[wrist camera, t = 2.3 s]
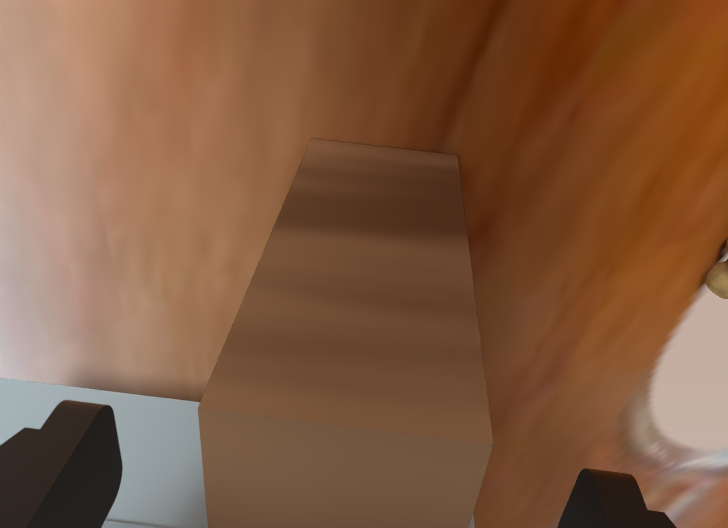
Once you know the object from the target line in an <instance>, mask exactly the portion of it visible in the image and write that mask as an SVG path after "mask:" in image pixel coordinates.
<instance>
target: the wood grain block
mask: <svg viewBox="0 0 728 528" xmlns="http://www.w3.org/2000/svg"><path fill="white" fill-rule="evenodd" d="M198 418H199V429H200V441H201V453H202V464H203V476H204V488H205V499H206V511H207V523H208V528H469V526H470V522H471V519H472V515H473V512H474V509H475V505H476V502H477V499H478V495H479V492H480V489H481V485H482V482H483V479H484V475H485V472H486V469H487V465H488V462H489V459H490V455H491V452H492V448H493V445H494V442H493V434H492V426H491V418H490V410H489V402H488V394H487V387H486V379H485V371H484V363H483V355H482V347H481V339H480V331H479V323H478V315H477V307H476V299H475V291H474V283H473V275H472V267H471V259H470V251H469V243H468V235H467V227H466V219H465V211H464V204H463V196H462V188H461V180H460V172H459V164H458V156H457V155H454V154H445V153H436V152H427V151H418V150H409V149H401V148H392V147H383V146H374V145H365V144H356V143H348V142H339V141H330V140H321V139H312V138H311V140H310V142H309V145H308V147H307V149H306V152H305V154H304V156H303V159H302V161H301V164H300V166H299V168H298V171H297V173H296V175H295V178H294V180H293V183H292V185H291V187H290V190H289V192H288V194H287V197H286V199H285V202H284V204H283V206H282V209H281V211H280V213H279V216H278V218H277V221H276V223H275V225H274V228H273V230H272V232H271V235H270V237H269V240H268V242H267V244H266V247H265V249H264V251H263V254H262V256H261V259H260V261H259V263H258V266H257V268H256V270H255V273H254V275H253V278H252V280H251V282H250V285H249V287H248V290H247V292H246V294H245V297H244V299H243V301H242V304H241V306H240V309H239V311H238V313H237V316H236V318H235V320H234V323H233V325H232V328H231V330H230V332H229V335H228V337H227V339H226V342H225V344H224V347H223V349H222V351H221V354H220V356H219V358H218V361H217V363H216V366H215V368H214V370H213V373H212V375H211V377H210V380H209V382H208V385H207V387H206V389H205V392H204V394H203V396H202V399H201V401H200V404H199V406H198Z"/></svg>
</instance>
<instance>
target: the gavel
mask: <svg viewBox="0 0 728 528" xmlns="http://www.w3.org/2000/svg"><path fill="white" fill-rule="evenodd" d="M726 250H727V252H728V239H727V242H726ZM705 283H706V285H707V286H708V288H709V289H710V290H711V291H712V292H713V293H715V294H716V295H718V296H719V297H721V298H724V299H728V259H727V260H726V261H725V262H721V263H718V264H716V265H715V266H713V267H712V268H711V269H710V270H709V272H708V273H707V275H706V280H705Z"/></svg>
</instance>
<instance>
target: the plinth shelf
mask: <svg viewBox="0 0 728 528" xmlns="http://www.w3.org/2000/svg"><path fill="white" fill-rule="evenodd" d="M63 400H73V401H81V402H89V403H97V404H104V405H110V406H111V407H112V409H113V411H114V416H115V422H116V428H117V434H118V440H119V446H120V452H121V458H122V465H123V470H122V479H121V484H120V488H119V491H118V494H117V497H116V499H115V502H114V504H113V506H112V508H111V510H110V512H109V514H108V516H107V518H106V520H105V521H104V523H103V525H102V527H101V528H208V523H207V511H206V499H205V488H204V476H203V464H202V453H201V441H200V429H199V418H198V406H199V404H200V402H194V401H186V400H178V399H170V398H161V397H153V396H145V395H137V394H129V393H120V392H112V391H104V390H96V389H88V388H79V387H71V386H63V385H55V384H47V383H38V382H30V381H22V380H14V379H6V378H0V445H1V444H3V443H4V442H5V441H7V440H8V439H9V438H11V437H12V436H14V435H15V434H16V433H18V432H19V431H20V430H22V429H23V428H24V427H26V428H34V429H40V428H41V427H42V425H43V424H44V423H45V421H46V420H47V418H48V417H49V416H50V414H51V413H52V411H53V410H54V409H55V407H56V406H57V405H58V404H59V403H60V402H62V401H63ZM469 528H475V527H474V515H472V519H471V522H470V526H469Z"/></svg>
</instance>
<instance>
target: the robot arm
mask: <svg viewBox="0 0 728 528" xmlns="http://www.w3.org/2000/svg"><path fill="white" fill-rule="evenodd" d="M122 470H123V465H122V458H121V452H120V446H119V440H118V434H117V428H116V422H115V416H114V411H113V409H112V407H111V406H110V405H104V404H97V403H89V402H81V401H73V400H63V401H62V402H60V403H59V404H58V405H57V406H56V407H55V409H54V410H53V411H52V413H51V414H50V416H49V417H48V418H47V420H46V421H45V423H44V424H43V425H42V427H41V428H40V429H34V428H26V427H24V428H23V429H22V430H20V431H19V432H18V433H16V434H15V435H14V436H12V437H11V438H9V439H8V440H7V441H5V442H4V443H3V444H1V445H0V528H101V527H102V525H103V523H104V521H105V520H106V518H107V516H108V514H109V512H110V510H111V508H112V506H113V504H114V502H115V499H116V497H117V494H118V491H119V488H120V484H121V479H122ZM558 528H676V527H675V525H674V524H673V523H672V522H671V520H670V519H669V518H668V517H667V515H666V514H665V513H664V512H657V511H649V510H647V508H646V505H645V502H644V500H643V497H642V494H641V491H640V489H639V486H638V484H637V481H636V480H635V478H634V477H633V476H632V475H630V474H625V473H617V472H610V471H602V470H594V469H586V468H585V469H583V470H582V471H581V472H580V474H579V476H578V478H577V481H576V483H575V485H574V488H573V490H572V493H571V495H570V497H569V500H568V502H567V505H566V507H565V509H564V512H563V514H562V517H561V519H560V521H559V524H558Z"/></svg>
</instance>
